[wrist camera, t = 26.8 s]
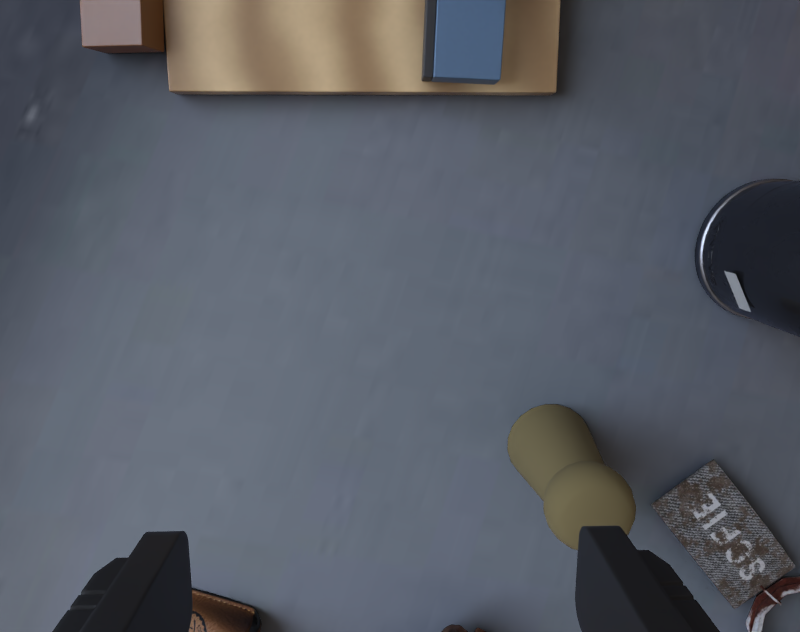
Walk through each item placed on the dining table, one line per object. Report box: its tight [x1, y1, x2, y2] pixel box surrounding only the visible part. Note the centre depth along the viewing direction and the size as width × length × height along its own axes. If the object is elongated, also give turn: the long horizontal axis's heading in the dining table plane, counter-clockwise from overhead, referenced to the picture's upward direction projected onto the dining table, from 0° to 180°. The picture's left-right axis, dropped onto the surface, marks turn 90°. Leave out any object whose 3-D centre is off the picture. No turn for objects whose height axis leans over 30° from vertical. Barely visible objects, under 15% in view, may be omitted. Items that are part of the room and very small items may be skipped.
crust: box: [80, 0, 164, 53], centre depth 39 cm, size 4×3×2 cm
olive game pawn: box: [508, 404, 636, 550], centre depth 42 cm, size 6×6×11 cm
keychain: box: [651, 459, 800, 632], centre depth 49 cm, size 8×19×2 cm, turn 39°
